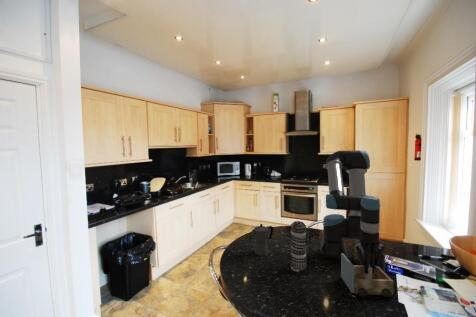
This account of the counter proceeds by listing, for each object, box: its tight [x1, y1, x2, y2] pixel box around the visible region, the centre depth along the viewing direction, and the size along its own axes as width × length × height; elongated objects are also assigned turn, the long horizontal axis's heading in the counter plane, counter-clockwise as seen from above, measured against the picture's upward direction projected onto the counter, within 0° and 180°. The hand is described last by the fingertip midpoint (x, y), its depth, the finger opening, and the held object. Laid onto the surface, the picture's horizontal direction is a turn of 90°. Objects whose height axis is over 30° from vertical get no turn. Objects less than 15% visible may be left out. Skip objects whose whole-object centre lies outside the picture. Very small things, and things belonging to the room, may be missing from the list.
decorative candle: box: [289, 220, 308, 273], centre depth 119 cm, size 9×9×25 cm
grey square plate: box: [340, 253, 354, 294], centre depth 103 cm, size 1×12×12 cm, turn 176°
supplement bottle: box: [375, 247, 386, 273], centre depth 115 cm, size 7×7×12 cm
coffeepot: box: [251, 223, 275, 256], centre depth 138 cm, size 15×9×18 cm, turn 113°
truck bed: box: [353, 264, 394, 298], centre depth 102 cm, size 16×15×7 cm
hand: (368, 280), depth 102 cm, fingers closed
